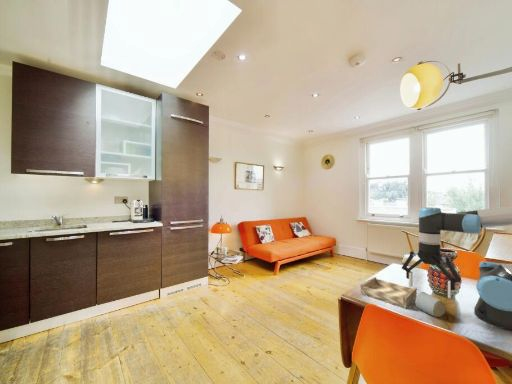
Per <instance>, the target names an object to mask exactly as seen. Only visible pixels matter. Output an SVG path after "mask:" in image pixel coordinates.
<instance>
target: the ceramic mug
mask: <svg viewBox="0 0 512 384" xmlns="http://www.w3.org/2000/svg"><path fill="white" fill-rule="evenodd" d="M414 301H415V306H416V308H417V309H419V311H420V310H421V311H422V312H425V313H427V314H429V315H431V316H432V317H435V318H440V317H442V316H443V315H444V314H445V313H446V311H447V310H446V305H445V303H444V302H443V300H440V298H437V297H434V296H433V295H431V294H428V293H427V292H424V291H421V292H419V293H418V294H417V297H416V299H415V300H414Z"/></svg>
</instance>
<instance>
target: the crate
mask: <svg viewBox="0 0 512 384" xmlns="http://www.w3.org/2000/svg"><path fill="white" fill-rule="evenodd" d="M359 286H360V294H361V293H362V294H361V295H363V294H364V296H366V295H367V296H366V297H370V298H372V299H375V300H379V301H380V302H384V303H387V304H390V305H393V306H396V307H398V308H402V309H407V308H408V307H409V306H410V305H411V304H413V302H414V301H416V297H417V295H418V294H417V292H418V291H417V290H418V288H417V287H413V288H412V287H409V286H405V285H401V284H397V283H394V282H391V281H387V280H383V279H379V278H377V276H373V277H372V278H369V279H368V280H366V281H364V282H363V283H360V285H359Z"/></svg>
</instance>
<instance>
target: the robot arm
mask: <svg viewBox="0 0 512 384" xmlns="http://www.w3.org/2000/svg"><path fill="white" fill-rule="evenodd" d="M418 214H419V215H418V241H419V242H418V251H416V250H414V249H413V250H411V251H410V252H409V256H408V257H407V259H406V261H405V262H404V264H403V265H402V266H401V269H402V270H404V271H405V272H406V273H405V274H406V275H405V276H406V279H408V287H409V288H412V287H414V286H413V271H412V270H413V269H415V268H416V267H417V266H418V265H420V264H421V263H423V264H424V265H425V264H426V265H430V266H436V267H437V268H438V269H439V270H440V271H441V273H442V274H443V275H444V276H445V277H446V279H447V280H448V282H447V298H448V299H452V291H455V289H456V283H461V281H462V278H461V277H460V275H459V272H458V271H457V270H456V268H455V266H454V264H452V260H451V257H450V256H448V255H447V256H442V255H441V249H442V248H441V247H442V246H441V243H442V242H441V241H442V237H441V234H442V233H441V231H443V232H445V231H446V232H455V233H461V234H467V235H469V234H474V235H475V234H476V235H478V234H480V233H481V230H482V229H484V228H495V227H508V226H512V205H509V206H498V207H491V208H484V209H476V210H468V211H459V212H456V213H452V212H442V209H441V208H440V207H429V206H427V207H425V206H424V207H420V209H419V213H418ZM416 256H417V257H418V258H419V259H418V260H417V261H416V262H415V263H413V264H412V265H410V263H411V261H412V260H413V259H414V257H416ZM441 261H443V262H444V263H446V265H447V267H448V269H449V271H450V272H449V271H448V270H447V269H446V268H445V267H444V265H443V264H442V263H441ZM409 265H410V266H409ZM408 266H409V267H408ZM478 270H479V273H478V274H479V276H478V279H477V282H476V290H477V293H478V295H479V298H478V300H477V302H476V304H475V306H474V307H473V309H474V312H473V313H474V315H475V316H476V318H478V319H479V320H481V321H483V322H485V323H487V324H489V325H493V326H494V327H498V328H501V329H505V330H509V331H512V263H501V262H492V261H483V260H482V261H479V266H478Z"/></svg>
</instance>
